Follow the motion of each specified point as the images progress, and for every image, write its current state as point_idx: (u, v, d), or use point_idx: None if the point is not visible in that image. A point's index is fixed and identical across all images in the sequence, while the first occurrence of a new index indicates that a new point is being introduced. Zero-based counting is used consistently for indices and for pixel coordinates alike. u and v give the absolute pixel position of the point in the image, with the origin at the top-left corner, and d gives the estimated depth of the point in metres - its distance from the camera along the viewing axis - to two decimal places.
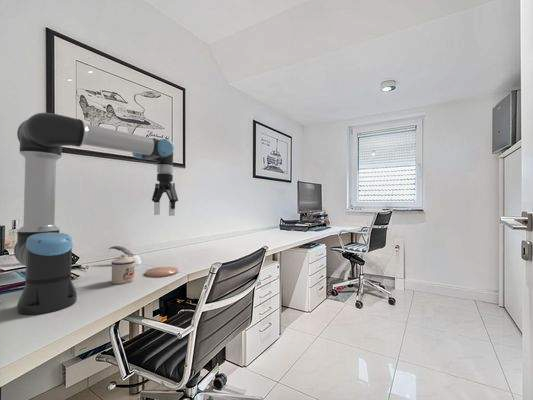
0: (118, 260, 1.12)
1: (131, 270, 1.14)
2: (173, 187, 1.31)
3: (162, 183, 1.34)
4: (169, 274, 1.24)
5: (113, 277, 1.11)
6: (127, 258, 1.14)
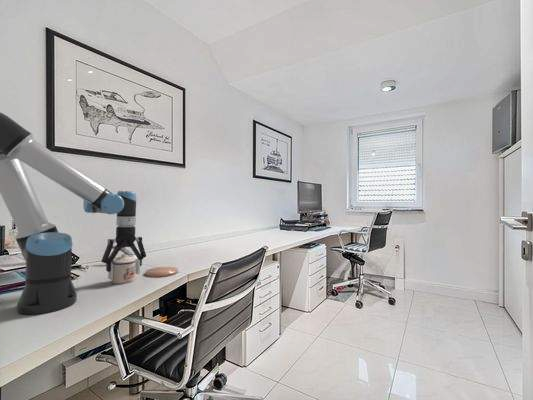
0: (118, 260, 1.12)
1: (131, 270, 1.14)
2: (109, 245, 1.10)
3: None
4: (169, 274, 1.24)
5: (113, 277, 1.11)
6: (127, 258, 1.14)
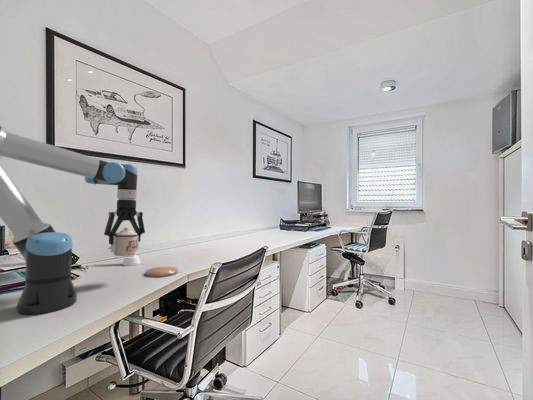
0: (121, 232, 1.13)
1: (134, 243, 1.15)
2: (110, 218, 1.11)
3: None
4: (169, 274, 1.24)
5: (116, 249, 1.12)
6: (130, 231, 1.15)
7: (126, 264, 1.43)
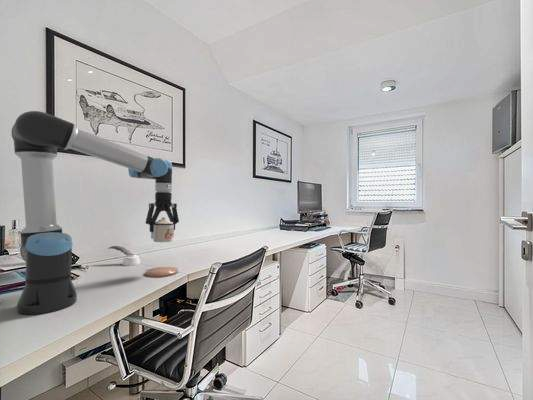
0: (160, 221, 1.26)
1: (171, 231, 1.28)
2: (150, 208, 1.24)
3: None
4: (169, 274, 1.24)
5: (156, 236, 1.25)
6: (167, 220, 1.28)
7: (126, 264, 1.43)
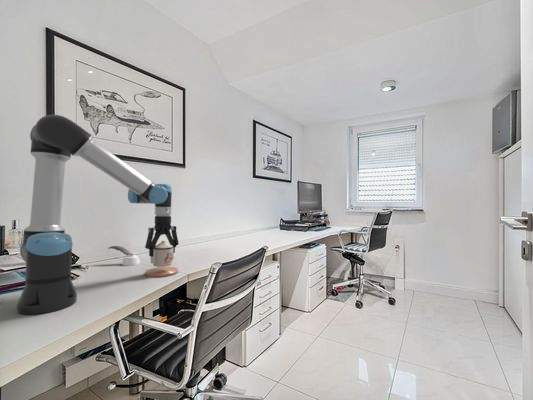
0: (160, 245, 1.26)
1: (170, 255, 1.28)
2: (150, 233, 1.24)
3: None
4: (169, 274, 1.24)
5: (155, 261, 1.25)
6: (167, 244, 1.28)
7: (125, 264, 1.43)
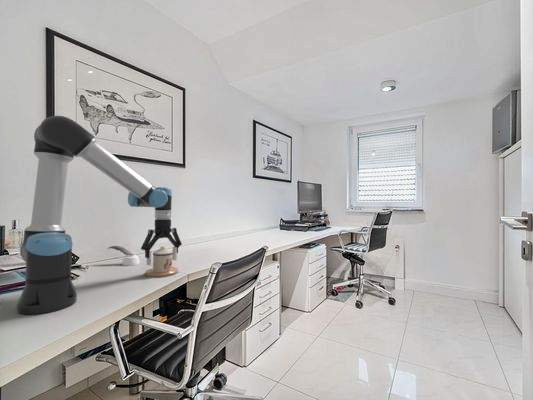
0: (159, 252, 1.26)
1: (170, 261, 1.28)
2: (149, 234, 1.23)
3: None
4: (169, 274, 1.24)
5: (155, 267, 1.25)
6: (166, 250, 1.28)
7: (125, 264, 1.43)
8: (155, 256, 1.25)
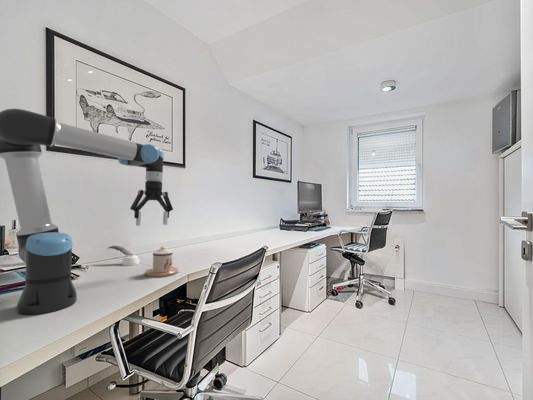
0: (159, 252, 1.26)
1: (170, 261, 1.28)
2: (139, 195, 1.21)
3: None
4: (169, 274, 1.24)
5: (155, 267, 1.25)
6: (166, 250, 1.28)
7: (125, 264, 1.43)
8: (155, 256, 1.25)
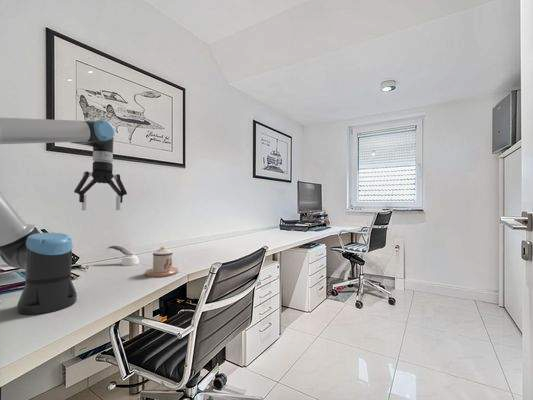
0: (159, 252, 1.26)
1: (170, 261, 1.28)
2: (84, 176, 1.10)
3: None
4: (169, 274, 1.24)
5: (155, 267, 1.25)
6: (166, 250, 1.28)
7: (124, 264, 1.43)
8: (155, 256, 1.25)
